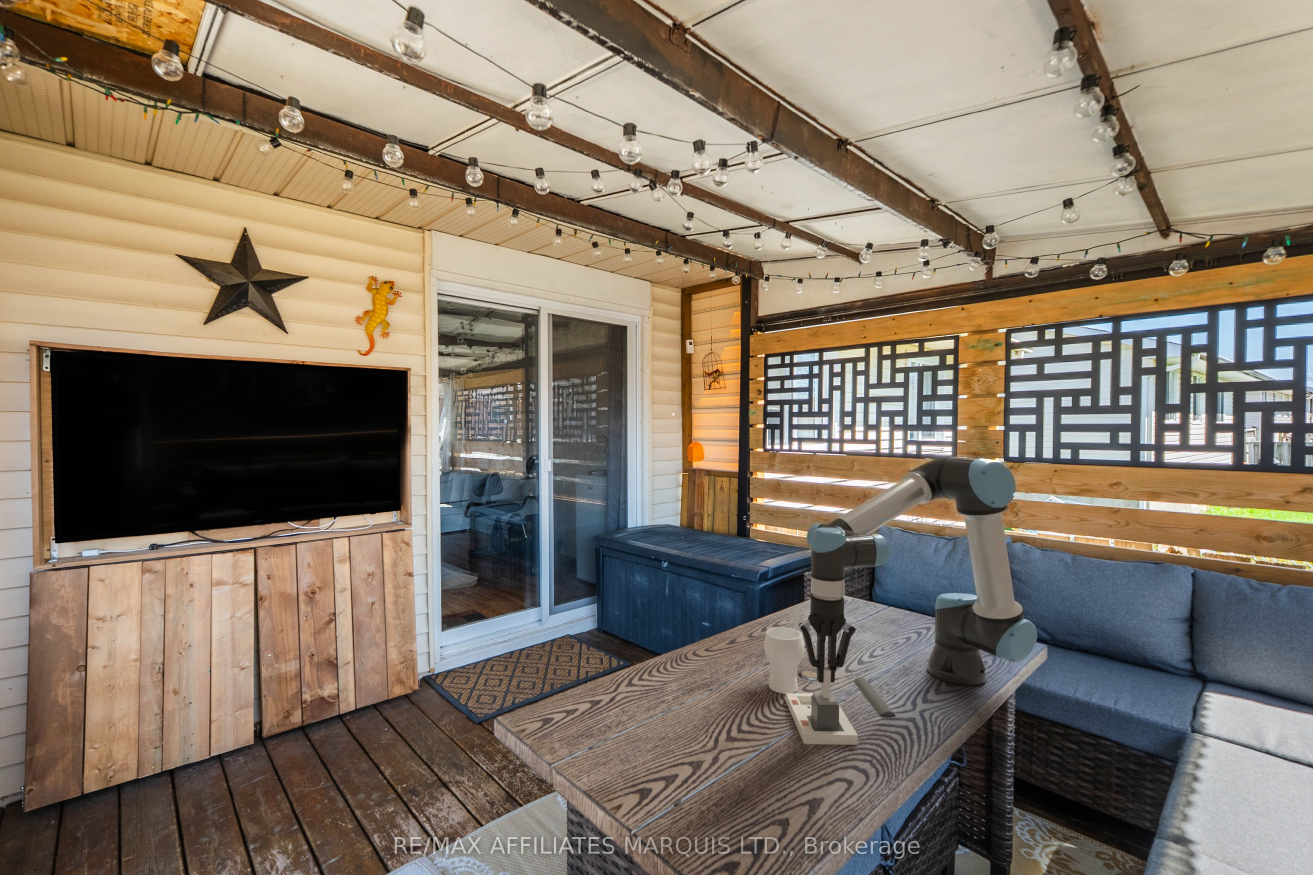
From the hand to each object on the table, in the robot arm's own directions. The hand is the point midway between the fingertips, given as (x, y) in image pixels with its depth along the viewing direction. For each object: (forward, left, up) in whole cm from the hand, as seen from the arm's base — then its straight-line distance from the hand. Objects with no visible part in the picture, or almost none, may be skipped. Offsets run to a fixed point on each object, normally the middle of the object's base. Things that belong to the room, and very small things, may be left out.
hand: (825, 695), depth 137 cm
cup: (+5, -23, -9) cm, 25 cm away
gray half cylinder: (-18, -18, -10) cm, 27 cm away
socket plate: (0, -5, -9) cm, 10 cm away
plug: (0, 0, -8) cm, 8 cm away
